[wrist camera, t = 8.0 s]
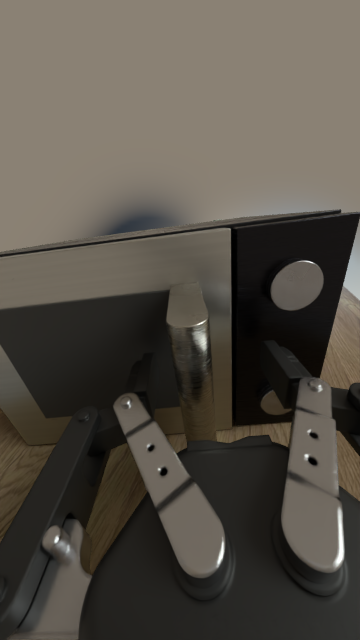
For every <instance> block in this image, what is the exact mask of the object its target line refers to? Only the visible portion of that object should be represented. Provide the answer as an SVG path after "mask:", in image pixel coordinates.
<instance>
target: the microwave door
mask: <svg viewBox="0 0 360 640" xmlns="http://www.w3.org/2000/svg"><path fill="white" fill-rule="evenodd" d="M148 352H155V354H156V359H157V363H158V368H159V384H158V391H157V399H156V407H155V415H154V419H155V420H156V422H157V423H158V425H159V427H160V428H161V430H162V431H163V433H164V434H176V433H185V436H186V442H187V441H196V440H212V441H217V437H216V430H225V429H232V332H231V229H230V228H218V229H211V230H203V231H195V232H188V233H180V234H173V235H165V236H157V237H150V238H142V239H135V240H127V241H119V242H112V243H104V244H97V245H89V246H81V247H74V248H66V249H58V250H51V251H43V252H36V253H28V254H20V255H13V256H5V257H0V408H1V409H2V411H3V412H4V413H5V415H6V416H7V417H8V419H9V420H10V421H11V423H12V424H13V425H14V427H15V428H16V429H17V431H18V432H19V434H20V435H21V436H22V438H23V439H24V440H25V442H26V443H27V444H28V445H39V444H52V443H57V442H58V441H59V439H60V437H61V435H62V434H63V432H64V430H65V428H66V427H67V425H68V423H69V421H70V420H71V418H72V416H73V415H74V414H75V413H76V412H77V411H78V410H80V409H82V408H84V407H87V406H94V407H96V408H97V410H98V411H100V410H102V409H105V408H108V407H110V406H113V405H114V402H115V401H116V399H117V398H118V397H120V396H121V395H123V393H124V390H125V387H126V384H127V381H128V378H129V375H130V371H131V368H132V366H133V365H134V364H135V362H136V361H141V360H142V357H143V354H144V353H148Z"/></svg>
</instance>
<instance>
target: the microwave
mask: <svg viewBox="0 0 360 640" xmlns="http://www.w3.org/2000/svg"><path fill="white" fill-rule="evenodd" d="M359 219H360V212H351V213H341V210H329V211H316V212H303V213H291V214H278V215H266V216H254V217H241V218H234V219H226V220H219V221H211V222H204V223H197V224H189V225H181V226H174V227H167V228H159V229H152V230H145V231H136V232H129V233H122V234H114V235H107V236H99V237H92V238H84V239H76V240H71V241H64V242H59V243H52V244H47V245H40V246H34V247H28V248H22V249H16V250H10V251H4V252H0V257H5V256H13V255H20V254H28V253H36V252H43V251H51V250H58V249H66V248H74V247H81V246H89V245H97V244H104V243H112V242H119V241H127V240H135V239H142V238H150V237H157V236H165V235H173V234H180V233H188V232H195V231H203V230H211V229H218V228H230V229H231V332H232V414H233V417H234V421H235V425H236V426H240V425H252V424H264V423H276V422H289V421H292V418H293V410H292V409H284V408H283V406H282V404H281V403H280V401H279V399H278V397H277V395H276V394H275V392H274V390H273V388H272V387H271V385H270V383H269V381H268V379H267V378H266V376H265V374H264V372H263V371H262V369H261V366H260V348H261V342H262V341H269V340H274V341H275V342H276V343H277V344H278V346H279V347H285V348H286V349H288V350H290V351H291V352H292V353H293V355H294V356H295V357H296V358H297V359H298V360H299V362H300V363H301V364H302V365H303V366H304V367H305V369H306V370H307V371H308V372H309V373H310V374H311V376H312V377H316V378H319V379H320V375H321V371H322V367H323V363H324V359H325V355H326V351H327V347H328V343H329V339H330V335H331V331H332V327H333V323H334V319H335V315H336V311H337V307H338V303H339V299H340V295H341V291H342V287H343V282H344V279H345V275H346V271H347V267H348V263H349V259H350V255H351V251H352V247H353V243H354V239H355V235H356V231H357V227H358V223H359Z"/></svg>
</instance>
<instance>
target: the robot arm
mask: <svg viewBox="0 0 360 640" xmlns="http://www.w3.org/2000/svg"><path fill="white" fill-rule="evenodd" d="M260 366H261V369H262V371H263V372H264V374H265V376H266V378H267V379H268V381H269V383H270V385H271V387H272V388H273V390H274V392H275V394H276V395H277V397H278V399H279V401H280V403H281V404H282V406H283V408H284V409H292V410H293V418H292V424H291V431H290V437H289V444H288V447H286V446H284V445H281V444H278V443H275V442H272V441H271V439H270V436H269V435H260V436H248V437H245V438H243V439H240V440H237V441H234V442H232V443H223V442H217V441H212V440H196V441H187V448H186V449H183V450H182V451H180V452H178V453H177V454H176V452H175V451H174V449H173V448H172V446H171V444H170V443H169V441H168V439H167V438H166V436H165V435H164V433H163V431H162V430H161V428H160V427H159V425H158V423H157V422H156V420H155V419H154V415H155V407H156V399H157V391H158V384H159V368H158V363H157V359H156V354H155V352H148V353H144V354H143V357H142V360H141V361H136V362H135V364H134V365H133V366H132V368H131V371H130V375H129V378H128V381H127V384H126V387H125V390H124V393H123V395H121V396H120V397H118V398H117V399H116V401H115V402H114V405H113V406H110V407H108V408H105V409H102V410H100V411H98V410H97V408H96V407H94V406H87V407H84V408H82V409H80V410H78V411H77V412H76V413H75V414H74V415H73V416H72V418H71V420H70V421H69V423H68V425H67V427H66V428H65V430H64V432H63V434H62V435H61V437H60V439H59V441H58V442H57V444H56V446H55V448H54V450H53V451H52V453H51V455H50V457H49V458H48V460H47V462H46V464H45V465H44V467H43V469H42V471H41V472H40V474H39V476H38V478H37V479H36V481H35V483H34V485H33V486H32V488H31V490H30V492H29V493H28V495H27V497H26V499H25V500H24V502H23V504H22V506H21V507H20V509H19V511H18V513H17V514H16V516H15V518H14V520H13V522H12V523H11V525H10V527H9V529H8V530H7V532H6V534H5V536H4V537H3V539H2V541H1V543H0V640H360V501H358V500H357V499H356V498H355V497H353V496H352V495H351V494H349V493H348V492H347V491H346V490H344V489H343V488H342V487H340V486H339V485H338V463H337V442H336V430H337V431H340V432H341V433H342V435H343V436H344V437H345V438H346V440H347V441H348V442H349V443H350V445H351V446H352V447H353V448H354V450H355V451H356V452H357V454H358V455H359V456H360V383H354V384H352V385H351V386H350V388H349V390H347V389H340V388H333V387H330V386H329V385H328V384H327V383H326V382H325V381H323V380H322V379H319V378H316V377H312V376H311V374H310V373H309V372H308V371H307V370H306V369H305V367H304V366H303V365H302V364H301V363H300V362H299V360H298V359H297V358H296V357H295V356H294V355H293V353H292V352H291V351H290V350H288V349H286V348H285V347H279V346H278V344H277V343H276V342H275V341H274V340H269V341H262V342H261V348H260ZM125 443H127V444H128V447H129V449H130V452H131V454H132V457H133V459H134V461H135V464H136V466H137V469H138V471H139V474H140V476H141V479H142V481H143V484H144V486H145V489H146V491H147V493H146V494H145V496H144V497H143V499H142V500H141V502H140V503H139V505H138V506H137V508H136V509H135V511H134V512H133V514H132V515H131V516H130V518H129V519H128V521H127V522H126V524H125V525H124V527H123V528H122V530H121V531H120V533H119V534H118V536H117V537H116V539H115V540H114V542H113V543H112V545H111V546H110V548H109V549H108V550H107V552H106V553H105V555H104V556H103V558H102V559H101V561H100V562H99V564H98V566H97V568H96V570H95V571H94V573H93V575H91V572H90V557H91V552H92V540H91V537H90V535H89V534H88V533H87V531H86V527H87V524H88V521H89V518H90V515H91V512H92V508H93V505H94V502H95V499H96V496H97V493H98V489H99V486H100V483H101V480H102V477H103V474H104V471H105V467H106V464H107V461H108V458H109V455H110V452H111V449H113V448H115V447H118V446H120V445H122V444H125Z"/></svg>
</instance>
